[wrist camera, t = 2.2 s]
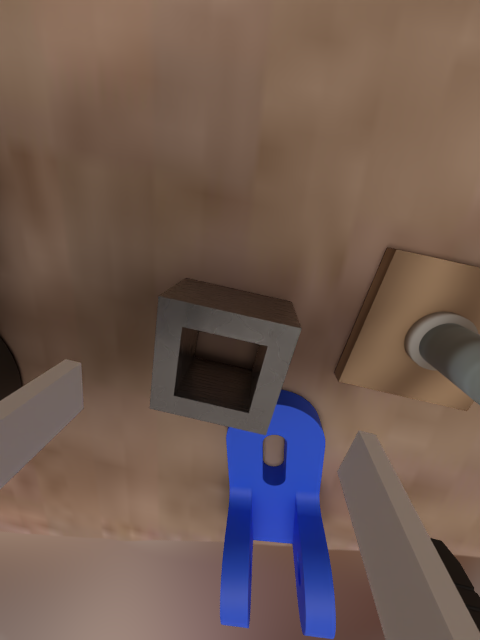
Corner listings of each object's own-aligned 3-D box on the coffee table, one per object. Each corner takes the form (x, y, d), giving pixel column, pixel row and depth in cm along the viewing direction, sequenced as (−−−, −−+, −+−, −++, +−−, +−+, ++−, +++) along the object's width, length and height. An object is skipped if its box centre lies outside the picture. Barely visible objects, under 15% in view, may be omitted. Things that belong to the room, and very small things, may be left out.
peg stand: (334, 372, 19) (379, 466, 12) (387, 247, 16) (503, 266, 8) (455, 400, 19) (580, 513, 12) (537, 281, 16) (798, 331, 8)
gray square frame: (175, 367, 21) (149, 408, 16) (186, 278, 18) (158, 296, 13) (265, 388, 21) (266, 435, 16) (291, 301, 18) (301, 328, 13)
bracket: (309, 522, 27) (329, 656, 18) (235, 516, 28) (223, 641, 19) (323, 389, 20) (365, 502, 12) (227, 386, 21) (203, 490, 13)
